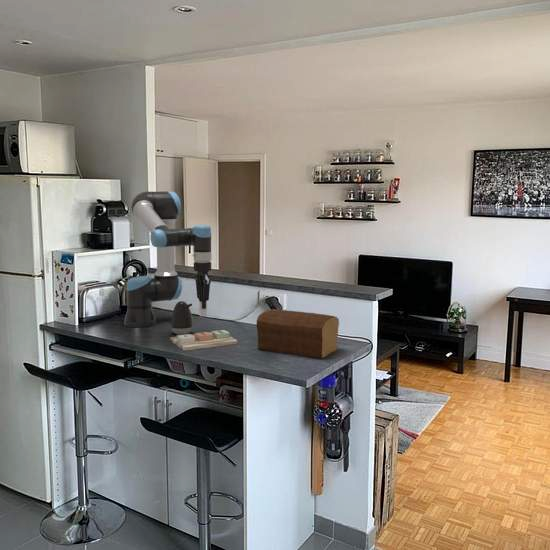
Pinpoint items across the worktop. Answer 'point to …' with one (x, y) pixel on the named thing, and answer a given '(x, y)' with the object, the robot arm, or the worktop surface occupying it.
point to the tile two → (203, 336)
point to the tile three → (220, 334)
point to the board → (204, 343)
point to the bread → (297, 333)
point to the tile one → (185, 338)
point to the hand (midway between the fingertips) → (203, 315)
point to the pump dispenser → (182, 319)
